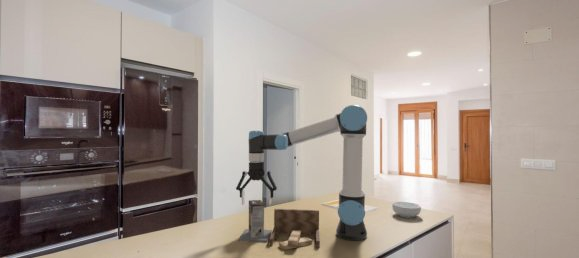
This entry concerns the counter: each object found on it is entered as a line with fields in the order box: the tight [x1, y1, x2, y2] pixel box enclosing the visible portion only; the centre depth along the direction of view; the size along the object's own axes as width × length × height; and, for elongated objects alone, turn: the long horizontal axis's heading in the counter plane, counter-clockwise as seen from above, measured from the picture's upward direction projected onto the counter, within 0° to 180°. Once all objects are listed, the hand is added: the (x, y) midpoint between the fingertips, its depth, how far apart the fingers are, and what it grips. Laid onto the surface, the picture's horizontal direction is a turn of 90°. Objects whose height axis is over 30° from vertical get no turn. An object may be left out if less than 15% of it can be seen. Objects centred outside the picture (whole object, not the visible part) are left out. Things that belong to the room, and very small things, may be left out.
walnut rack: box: [268, 208, 321, 249], centre depth 139 cm, size 23×18×12 cm
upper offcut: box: [287, 230, 302, 248], centre depth 133 cm, size 13×4×2 cm, turn 170°
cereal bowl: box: [391, 201, 422, 219], centre depth 180 cm, size 17×17×7 cm
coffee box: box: [248, 199, 265, 238], centre depth 143 cm, size 9×6×16 cm
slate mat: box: [237, 228, 273, 243], centre depth 143 cm, size 14×14×1 cm
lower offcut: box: [278, 236, 313, 251], centre depth 132 cm, size 15×4×2 cm, turn 120°
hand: (256, 204), depth 143 cm, fingers open, 13 cm apart
